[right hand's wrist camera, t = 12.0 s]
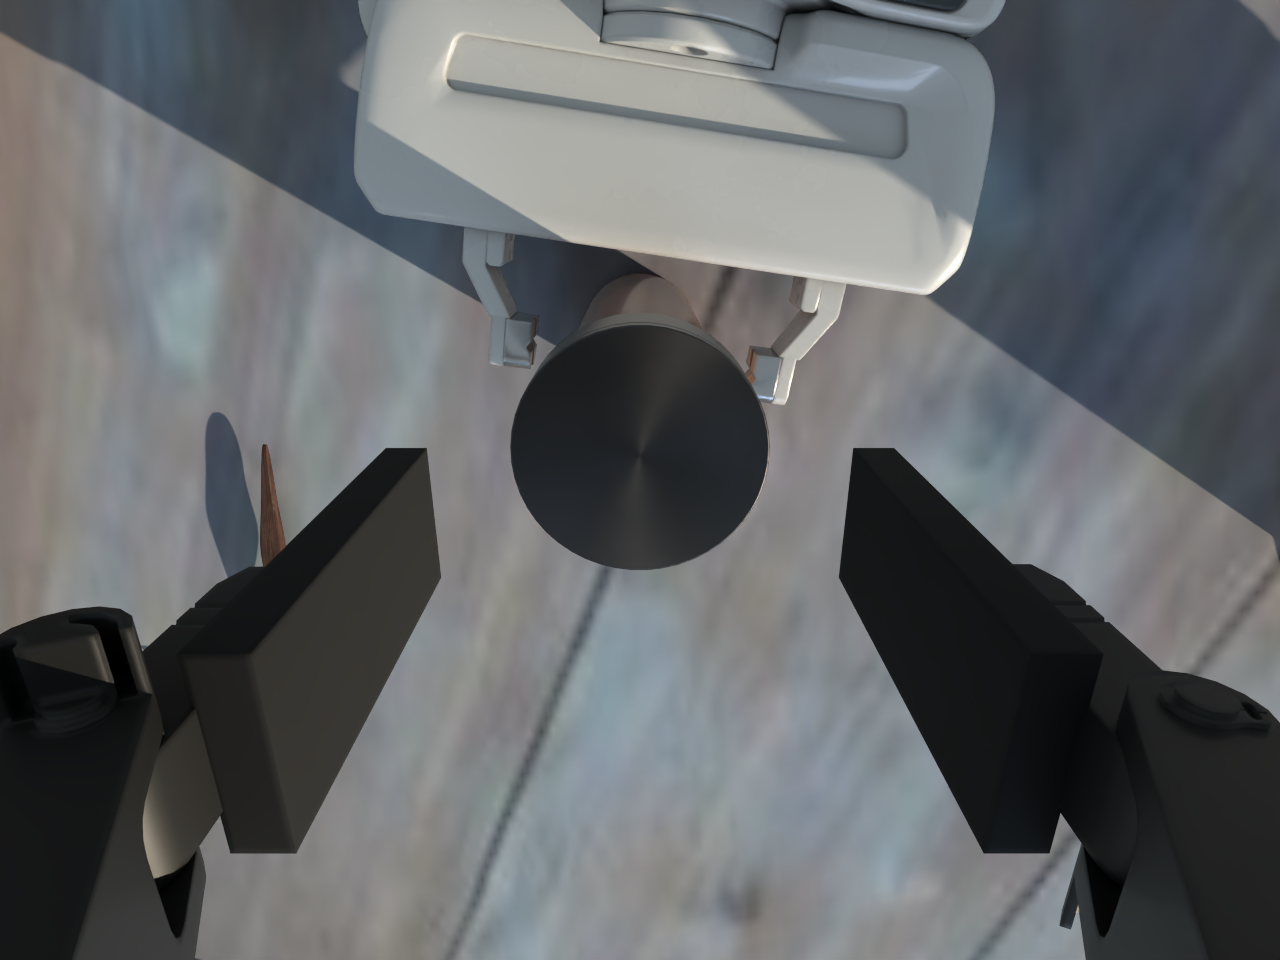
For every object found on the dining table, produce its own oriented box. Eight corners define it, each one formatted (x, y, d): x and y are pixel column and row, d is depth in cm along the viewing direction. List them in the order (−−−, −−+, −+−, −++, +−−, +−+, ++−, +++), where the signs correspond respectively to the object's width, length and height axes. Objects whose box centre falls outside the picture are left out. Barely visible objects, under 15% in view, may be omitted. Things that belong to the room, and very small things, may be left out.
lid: (541, 289, 18) (530, 299, 16) (784, 339, 18) (801, 354, 16) (507, 514, 20) (494, 547, 18) (725, 553, 20) (734, 589, 18)
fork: (297, 444, 35) (278, 457, 33) (314, 712, 41) (298, 737, 39) (242, 438, 35) (220, 451, 33) (267, 708, 41) (249, 733, 39)
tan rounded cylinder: (594, 262, 32) (551, 323, 16) (707, 285, 32) (770, 367, 17) (575, 374, 34) (519, 525, 18) (682, 395, 34) (718, 561, 19)
